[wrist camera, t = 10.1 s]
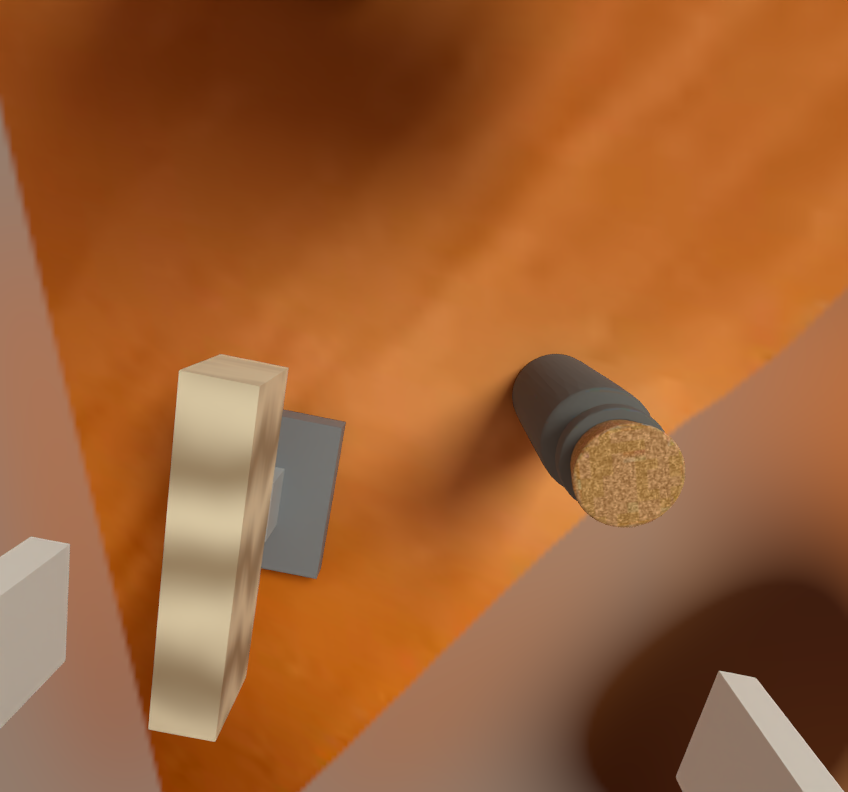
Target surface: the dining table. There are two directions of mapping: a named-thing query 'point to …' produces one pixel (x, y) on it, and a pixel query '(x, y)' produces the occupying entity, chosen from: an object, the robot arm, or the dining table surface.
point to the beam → (214, 539)
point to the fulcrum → (302, 493)
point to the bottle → (598, 441)
